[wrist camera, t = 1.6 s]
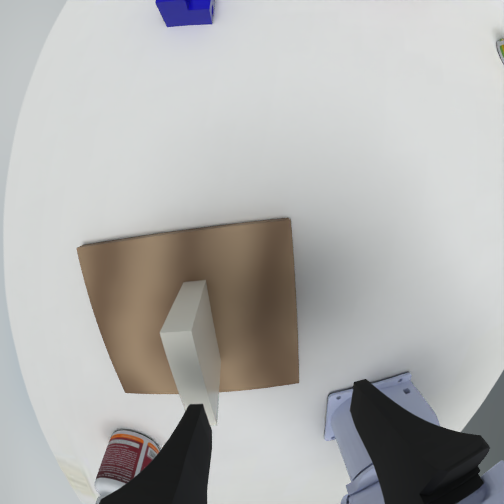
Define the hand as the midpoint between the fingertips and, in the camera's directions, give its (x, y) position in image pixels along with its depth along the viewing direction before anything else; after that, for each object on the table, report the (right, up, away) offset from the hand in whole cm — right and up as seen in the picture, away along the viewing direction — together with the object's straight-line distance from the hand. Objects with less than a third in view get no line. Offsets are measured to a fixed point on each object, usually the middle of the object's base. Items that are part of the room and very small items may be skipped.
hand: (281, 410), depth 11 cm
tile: (-5, +2, +9) cm, 10 cm away
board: (-6, +2, +10) cm, 12 cm away
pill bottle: (-15, -16, +14) cm, 26 cm away
